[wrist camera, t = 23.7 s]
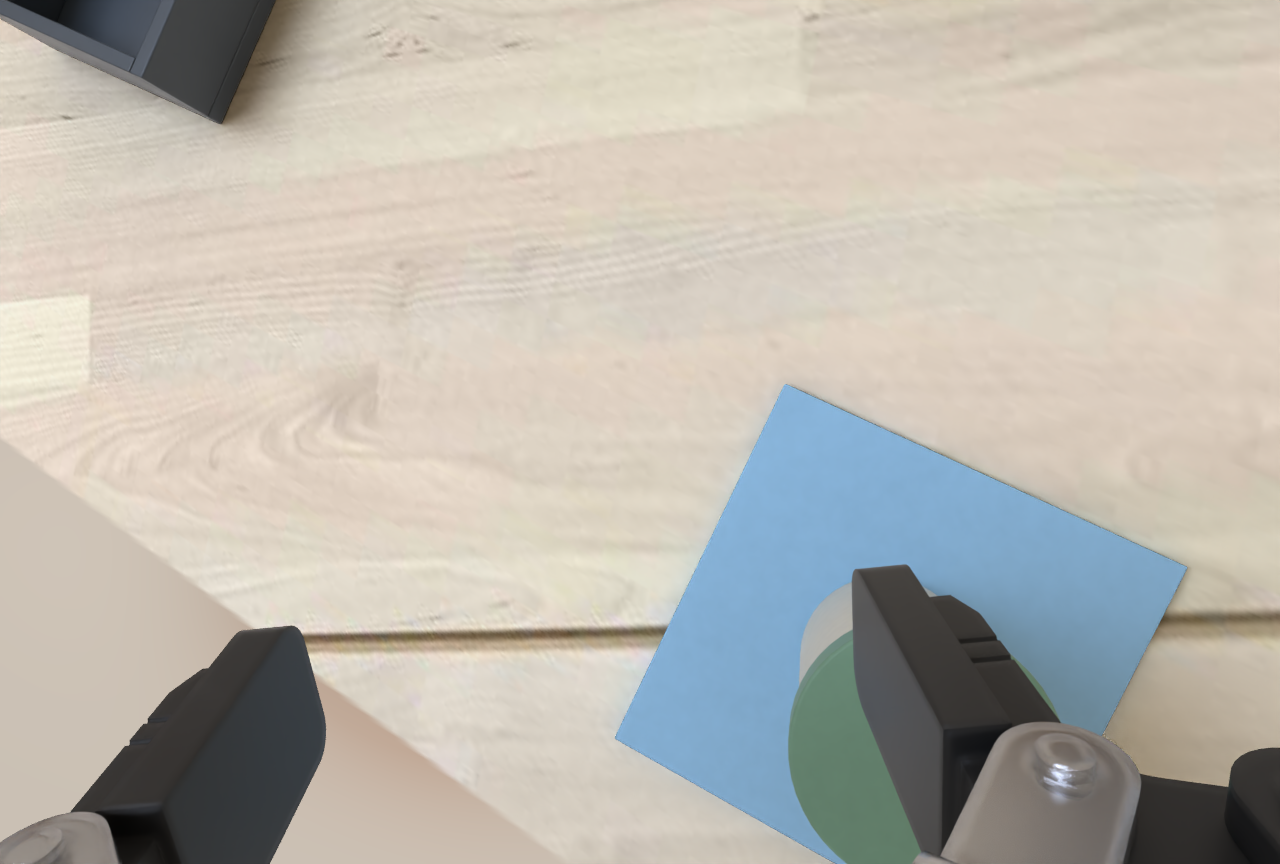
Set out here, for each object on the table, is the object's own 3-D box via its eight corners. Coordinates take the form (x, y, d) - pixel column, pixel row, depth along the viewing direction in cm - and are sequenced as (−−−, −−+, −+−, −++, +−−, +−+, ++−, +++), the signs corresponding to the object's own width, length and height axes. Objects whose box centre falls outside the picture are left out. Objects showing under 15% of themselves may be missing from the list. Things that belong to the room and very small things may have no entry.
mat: (988, 944, 28) (991, 952, 28) (617, 734, 31) (613, 738, 30) (1181, 565, 28) (1188, 567, 27) (785, 384, 30) (784, 383, 30)
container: (829, 771, 29) (841, 926, 19) (769, 600, 30) (751, 667, 20) (1005, 721, 28) (1114, 859, 18) (940, 546, 29) (1010, 588, 19)
